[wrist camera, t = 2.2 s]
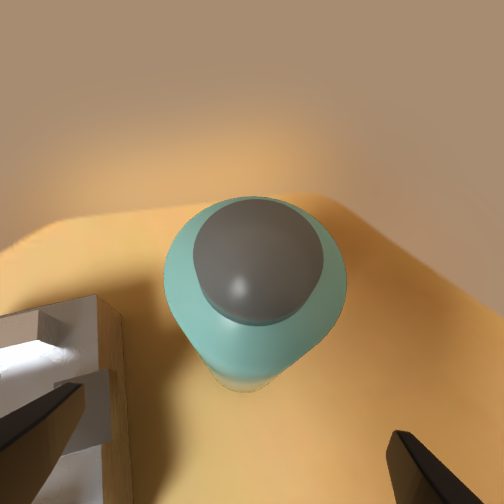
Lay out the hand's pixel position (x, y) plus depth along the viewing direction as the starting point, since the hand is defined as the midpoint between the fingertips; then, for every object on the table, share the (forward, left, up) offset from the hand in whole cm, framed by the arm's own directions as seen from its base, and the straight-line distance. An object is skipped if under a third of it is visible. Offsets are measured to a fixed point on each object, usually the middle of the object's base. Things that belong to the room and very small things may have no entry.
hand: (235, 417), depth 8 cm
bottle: (+3, +1, -11) cm, 11 cm away
